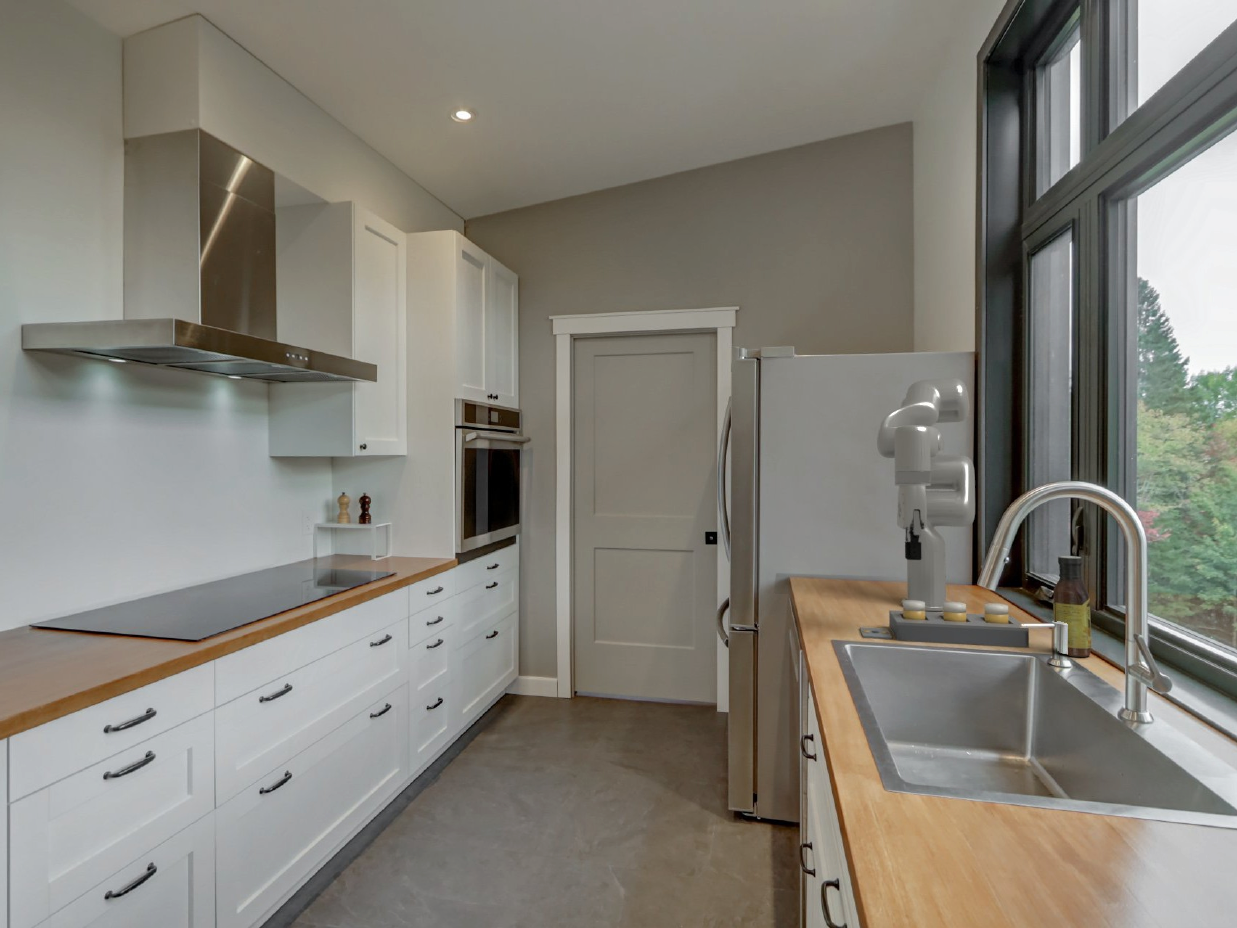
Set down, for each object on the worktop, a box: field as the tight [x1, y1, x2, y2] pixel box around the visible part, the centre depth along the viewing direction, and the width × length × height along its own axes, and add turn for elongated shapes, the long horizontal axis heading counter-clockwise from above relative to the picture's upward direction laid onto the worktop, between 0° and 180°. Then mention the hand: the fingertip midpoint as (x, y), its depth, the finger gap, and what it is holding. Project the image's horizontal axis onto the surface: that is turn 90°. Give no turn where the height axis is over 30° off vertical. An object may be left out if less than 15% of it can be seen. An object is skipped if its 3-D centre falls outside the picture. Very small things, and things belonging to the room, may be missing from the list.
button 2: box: [984, 602, 1009, 624], centre depth 147 cm, size 5×5×6 cm
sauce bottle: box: [1052, 555, 1092, 658], centre depth 135 cm, size 6×6×20 cm
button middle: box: [942, 601, 967, 622], centre depth 149 cm, size 5×5×6 cm
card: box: [859, 626, 893, 640], centre depth 152 cm, size 8×6×1 cm
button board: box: [888, 609, 1030, 648], centre depth 149 cm, size 12×26×4 cm, turn 75°
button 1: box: [902, 600, 926, 620], centre depth 151 cm, size 5×5×6 cm
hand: (913, 559), depth 151 cm, fingers closed
